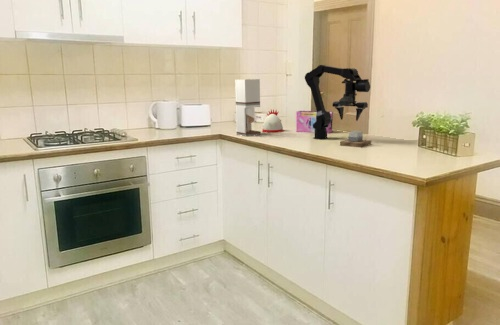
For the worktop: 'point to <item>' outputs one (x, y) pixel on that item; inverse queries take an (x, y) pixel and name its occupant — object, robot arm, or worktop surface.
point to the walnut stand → (355, 143)
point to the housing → (355, 136)
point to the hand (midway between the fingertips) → (349, 120)
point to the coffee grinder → (246, 105)
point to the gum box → (309, 121)
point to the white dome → (272, 123)
